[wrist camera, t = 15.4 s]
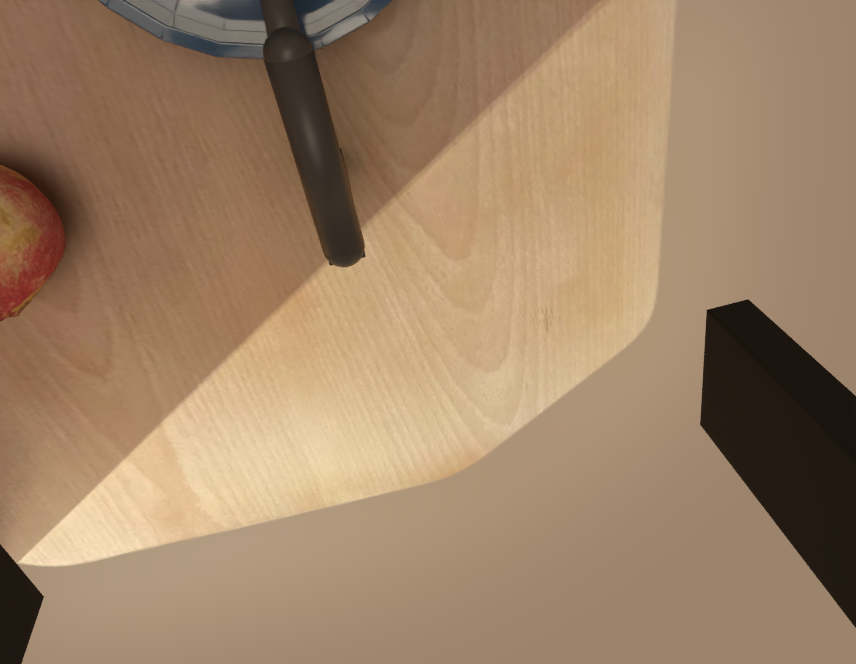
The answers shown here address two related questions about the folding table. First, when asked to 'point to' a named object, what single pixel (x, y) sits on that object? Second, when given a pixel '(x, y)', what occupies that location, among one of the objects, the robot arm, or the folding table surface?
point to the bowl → (241, 22)
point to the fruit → (25, 241)
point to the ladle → (311, 133)
